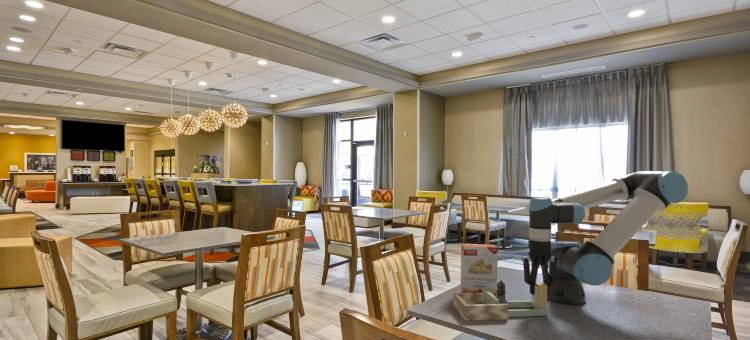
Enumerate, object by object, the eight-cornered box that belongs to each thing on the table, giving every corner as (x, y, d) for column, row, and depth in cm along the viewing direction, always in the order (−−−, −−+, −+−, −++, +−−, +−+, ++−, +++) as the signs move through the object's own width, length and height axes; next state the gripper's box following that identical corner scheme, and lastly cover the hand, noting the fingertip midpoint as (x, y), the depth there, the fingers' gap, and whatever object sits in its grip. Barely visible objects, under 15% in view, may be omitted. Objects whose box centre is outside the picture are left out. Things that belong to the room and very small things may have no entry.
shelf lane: (492, 305, 150) (492, 292, 150) (508, 319, 137) (508, 304, 137) (453, 306, 149) (453, 293, 149) (465, 320, 135) (465, 306, 135)
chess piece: (492, 313, 142) (492, 280, 142) (492, 308, 147) (492, 276, 147) (509, 315, 140) (510, 282, 140) (508, 310, 146) (509, 277, 146)
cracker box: (462, 297, 160) (463, 246, 160) (460, 292, 166) (460, 243, 166) (497, 298, 159) (498, 246, 159) (493, 293, 165) (494, 243, 165)
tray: (536, 305, 150) (536, 279, 150) (550, 315, 140) (550, 287, 140) (484, 306, 148) (485, 280, 148) (495, 316, 138) (496, 288, 138)
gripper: (554, 237, 150) (554, 299, 150) (514, 237, 148) (513, 300, 148) (566, 241, 142) (565, 305, 142) (524, 241, 140) (523, 307, 141)
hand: (539, 302), depth 145 cm, fingers closed on tray, 3 cm apart
